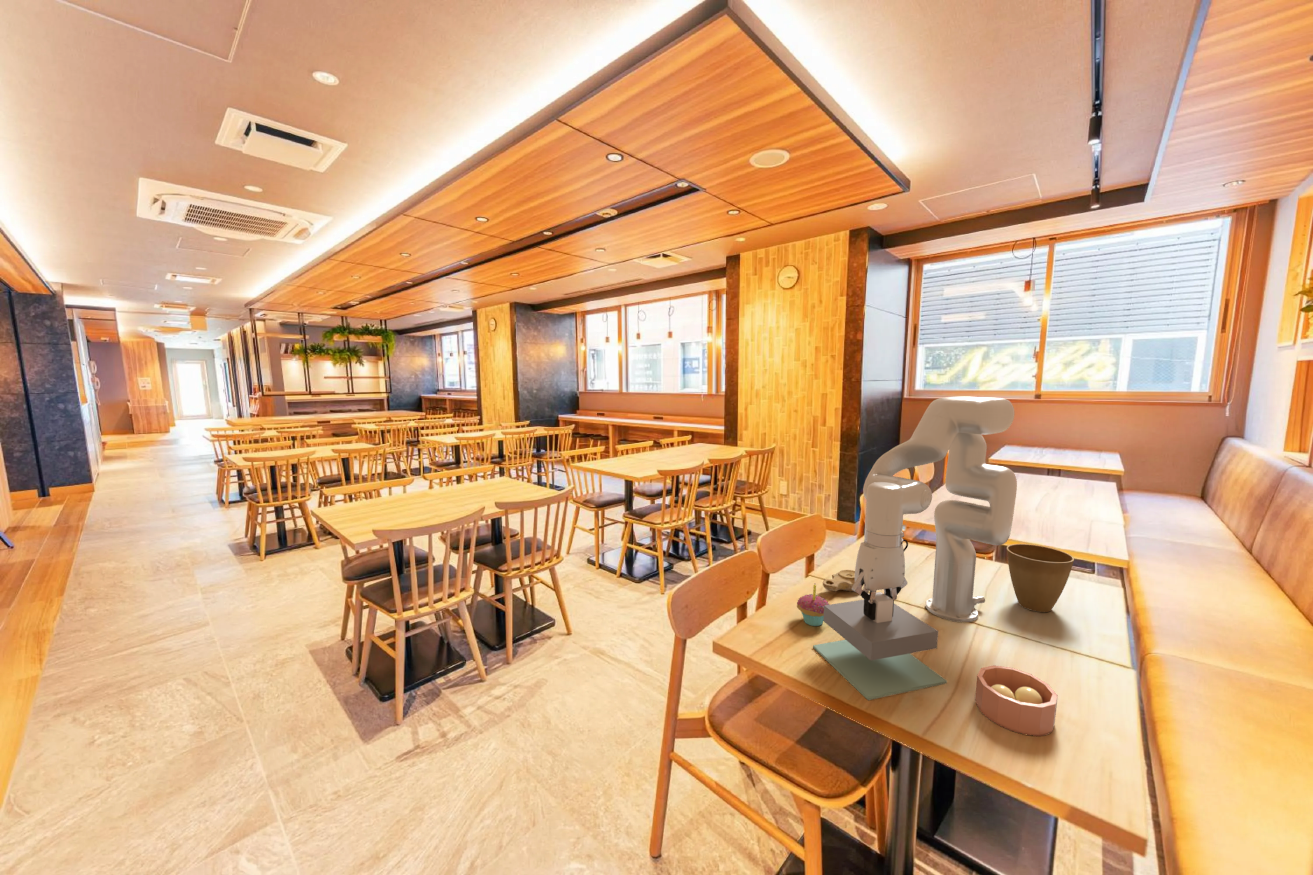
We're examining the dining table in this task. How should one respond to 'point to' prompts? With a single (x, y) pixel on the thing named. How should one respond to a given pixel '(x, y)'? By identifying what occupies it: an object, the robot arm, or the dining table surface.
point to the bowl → (1016, 700)
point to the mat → (878, 670)
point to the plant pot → (1038, 575)
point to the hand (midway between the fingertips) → (878, 614)
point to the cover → (880, 628)
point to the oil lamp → (840, 581)
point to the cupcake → (812, 608)
